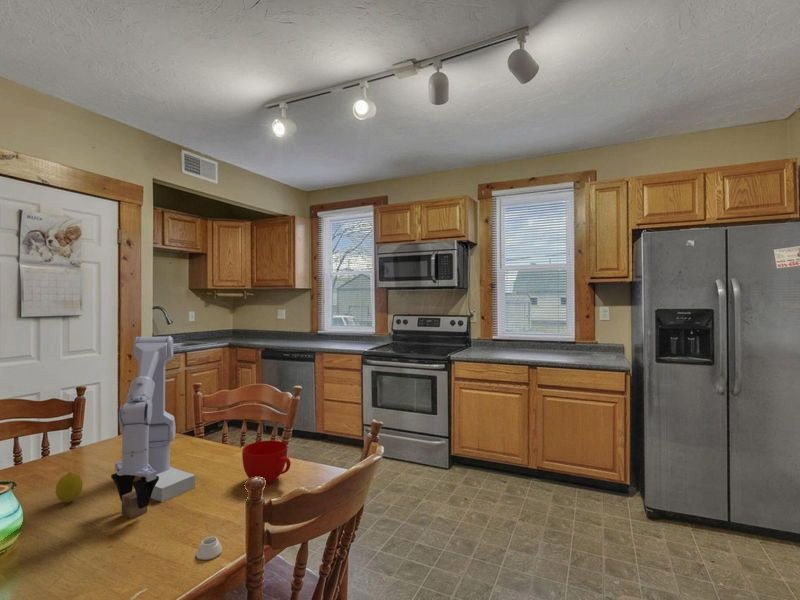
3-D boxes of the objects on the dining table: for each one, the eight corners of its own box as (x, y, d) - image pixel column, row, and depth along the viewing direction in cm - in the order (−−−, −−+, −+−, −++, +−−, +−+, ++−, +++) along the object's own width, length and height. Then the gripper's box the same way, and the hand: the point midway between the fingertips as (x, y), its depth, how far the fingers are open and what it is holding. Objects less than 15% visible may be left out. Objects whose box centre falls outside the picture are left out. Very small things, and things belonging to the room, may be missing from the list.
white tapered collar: (212, 544, 92) (191, 556, 88) (212, 531, 92) (191, 542, 88) (227, 552, 89) (205, 564, 85) (227, 538, 89) (206, 550, 85)
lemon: (87, 499, 112) (87, 470, 112) (64, 509, 106) (65, 478, 106) (73, 496, 113) (73, 467, 113) (50, 505, 108) (50, 475, 108)
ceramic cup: (271, 498, 114) (271, 461, 114) (232, 483, 123) (232, 449, 123) (305, 481, 125) (305, 448, 125) (267, 468, 134) (267, 437, 134)
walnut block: (121, 515, 104) (121, 495, 104) (137, 508, 107) (138, 489, 107) (130, 519, 102) (131, 499, 102) (147, 512, 105) (147, 492, 105)
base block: (139, 495, 115) (139, 480, 115) (173, 481, 124) (173, 468, 124) (161, 503, 111) (161, 488, 111) (195, 488, 120) (195, 474, 120)
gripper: (102, 449, 104) (101, 503, 104) (135, 459, 98) (134, 517, 98) (131, 441, 111) (130, 492, 111) (164, 450, 104) (163, 504, 104)
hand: (134, 503), depth 104 cm, fingers open, 7 cm apart
